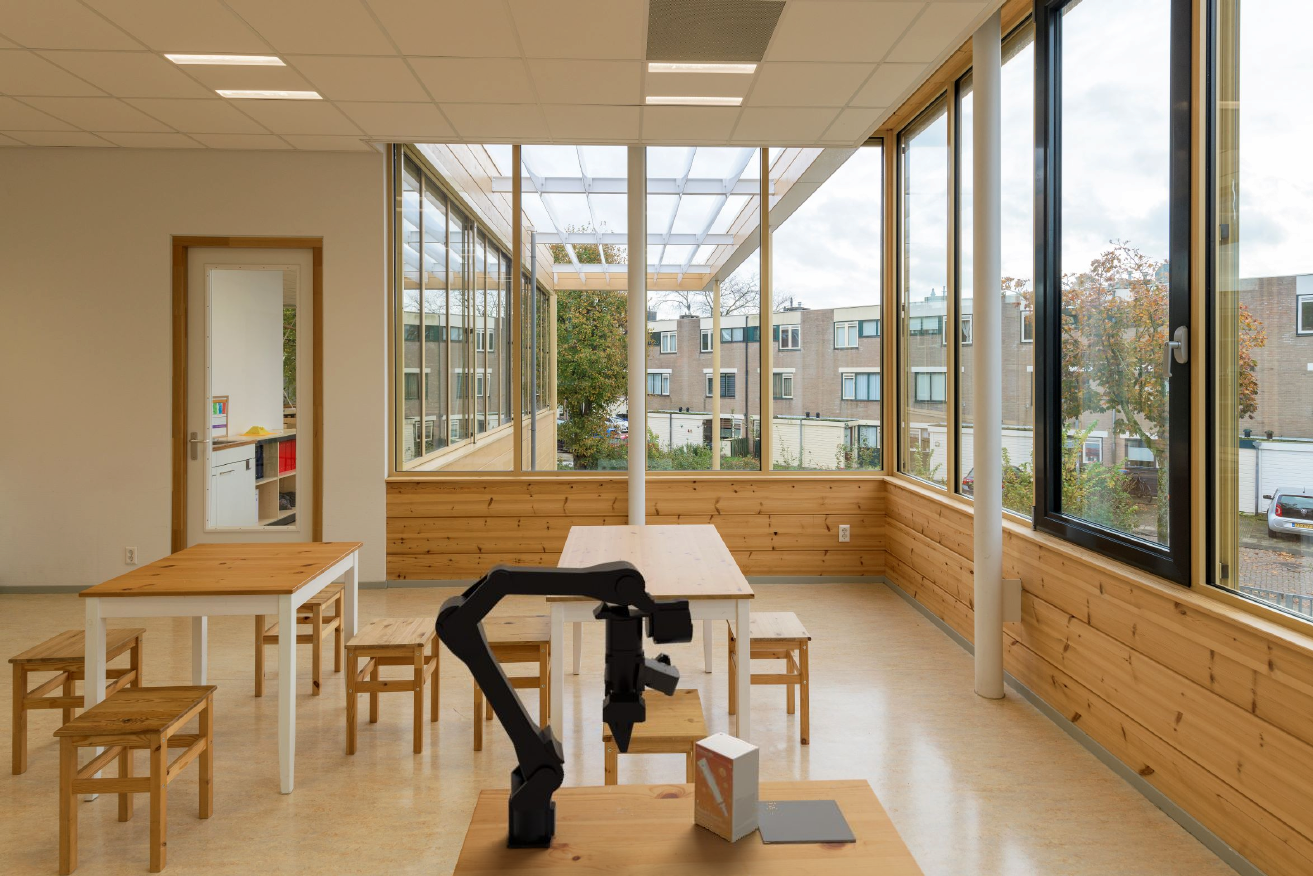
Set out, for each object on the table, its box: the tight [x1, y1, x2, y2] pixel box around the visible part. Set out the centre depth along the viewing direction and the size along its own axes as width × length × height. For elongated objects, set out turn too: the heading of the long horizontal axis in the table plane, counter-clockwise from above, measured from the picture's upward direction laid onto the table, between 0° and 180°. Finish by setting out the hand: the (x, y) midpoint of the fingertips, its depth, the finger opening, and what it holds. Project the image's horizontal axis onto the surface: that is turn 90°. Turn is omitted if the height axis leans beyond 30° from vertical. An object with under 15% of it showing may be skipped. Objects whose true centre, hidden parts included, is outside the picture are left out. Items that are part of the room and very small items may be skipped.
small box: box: [693, 731, 760, 844], centre depth 124 cm, size 8×6×13 cm
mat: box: [758, 799, 857, 844], centre depth 126 cm, size 14×12×1 cm
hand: (623, 745), depth 123 cm, fingers open, 5 cm apart
